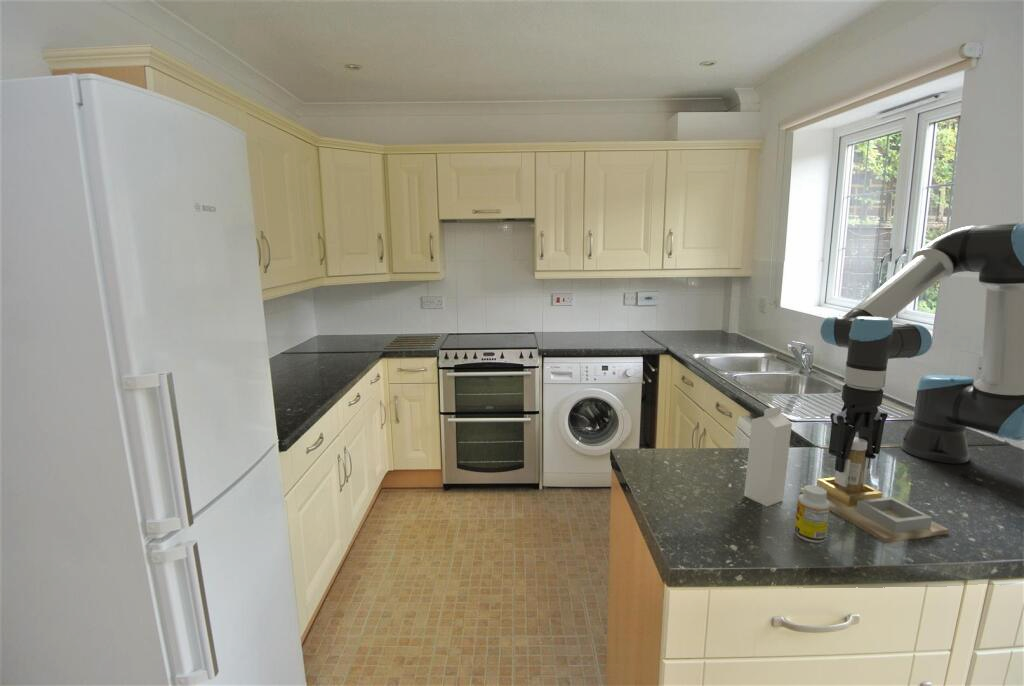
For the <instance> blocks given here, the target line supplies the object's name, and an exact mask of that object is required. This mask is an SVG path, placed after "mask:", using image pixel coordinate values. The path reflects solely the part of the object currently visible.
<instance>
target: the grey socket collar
mask: <svg viewBox="0 0 1024 686" xmlns="http://www.w3.org/2000/svg"><path fill="white" fill-rule="evenodd" d="M887 510H891V511H893V512H895V513H897V514H898V515H900V516H902V517H904V518H900V519H895V518H893V517H891V516H889V515H888V514H886V513H884V512H882V511H887ZM856 512H858V513H860V514H861V515H863V516H865V517H867V518H868V519H870V520H872V521H874V522H876V523H877V524H879V525H881V526H883V527H884V528H886V529H888V530H890V531H891V532H893V533H902V532H909V531H917V530H924V529H930V527H931V522H932V521H933V517H932V516H930V515H928V514H926V513H924V512H922V511H920V510H918V509H916V508H914V507H912V506H910V505H908V504H906V503H905V502H902V501H900V500H898V499H896V498H894V497H892V496H890V497H889V496H886V498H878V499H869V500H861V501H858V502H857V509H856Z"/></svg>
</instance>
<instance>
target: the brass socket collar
mask: <svg viewBox="0 0 1024 686" xmlns="http://www.w3.org/2000/svg"><path fill="white" fill-rule="evenodd" d="M816 480H817V481H816V486H818V487H821V488H823V489H825V490H826V491H827V495H828V496H830V497H832V498H833V499H835V500H837V501H839V502H840V503H842V504H844V505H846V506H847V507H853V506H857V502H858V501H861V500H869V499H878V498H882V496H884V495H883V494H884V492H882V491H880V490H877V488H874V487H872V486H870V485H868V484H866V483H865V485H861V489H860V493H855V494H849V493H847V492H845V491H843V490H841V489H839V488H838V486H839V484H837V483H835V476H832V477H825V478H824V477H823V478H817V479H816Z"/></svg>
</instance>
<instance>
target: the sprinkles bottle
mask: <svg viewBox="0 0 1024 686" xmlns="http://www.w3.org/2000/svg"><path fill="white" fill-rule="evenodd" d="M866 450H867V441H866V440H864V439H861V438H859V436H855V438H854V441H853V444H852V447H851V450H850V453H849V456H848V459H849V460H851V462H850V469H849V476H848V484H847V487H843V486H841V485H839V486H838V488H839V489H841V490H843V491H845V492H847V493H849V494H855V493H860V489H861V483H862V477H863V467H864V459H865V452H866Z"/></svg>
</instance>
